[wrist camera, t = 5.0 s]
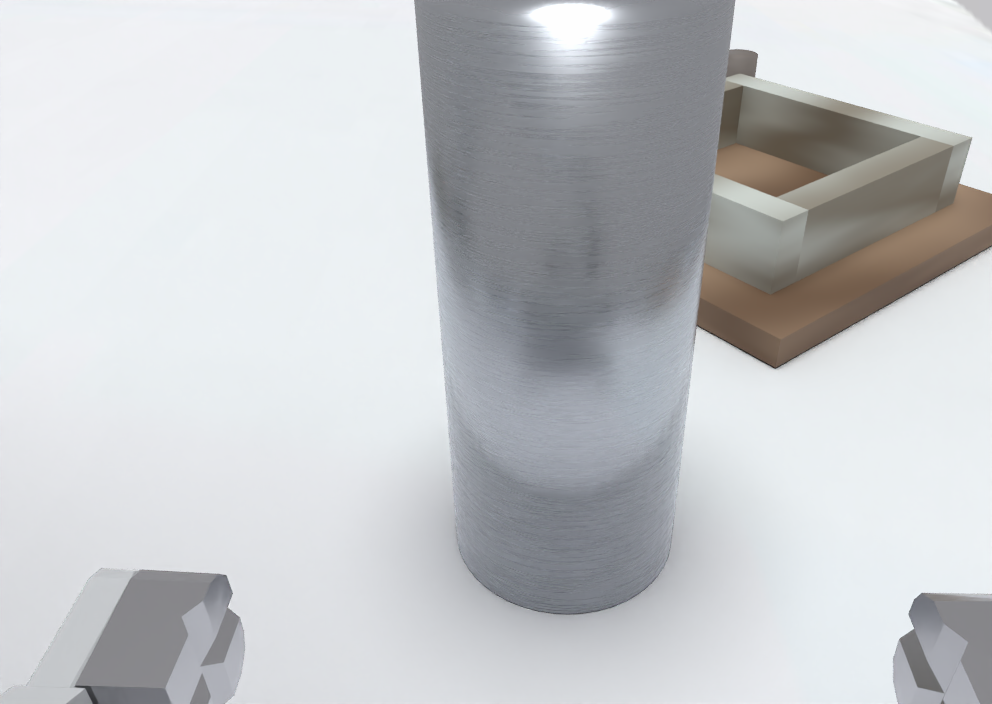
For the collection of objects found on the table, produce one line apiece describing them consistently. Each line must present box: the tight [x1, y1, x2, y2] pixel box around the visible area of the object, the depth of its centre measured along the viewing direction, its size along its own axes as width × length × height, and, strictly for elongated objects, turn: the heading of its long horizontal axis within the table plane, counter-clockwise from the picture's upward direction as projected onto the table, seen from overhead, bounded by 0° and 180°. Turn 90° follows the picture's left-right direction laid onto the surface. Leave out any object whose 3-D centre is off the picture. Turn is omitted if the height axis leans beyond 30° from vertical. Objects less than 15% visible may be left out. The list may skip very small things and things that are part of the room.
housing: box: [697, 49, 992, 368], centre depth 32 cm, size 14×14×4 cm
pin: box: [414, 0, 735, 614], centre depth 17 cm, size 5×5×12 cm
